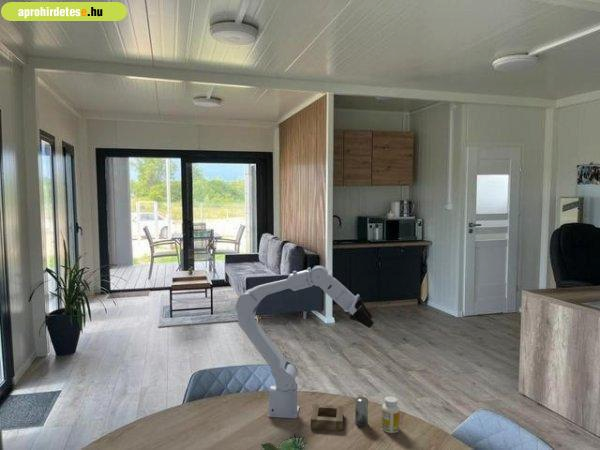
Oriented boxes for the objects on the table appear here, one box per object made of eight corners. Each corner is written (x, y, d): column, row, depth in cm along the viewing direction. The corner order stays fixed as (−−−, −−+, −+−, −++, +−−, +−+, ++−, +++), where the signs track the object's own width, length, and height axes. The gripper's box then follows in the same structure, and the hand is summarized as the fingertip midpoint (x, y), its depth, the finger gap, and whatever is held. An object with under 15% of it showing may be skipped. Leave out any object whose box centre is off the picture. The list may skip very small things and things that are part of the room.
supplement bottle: (397, 425, 137) (398, 395, 136) (400, 434, 132) (400, 403, 131) (380, 424, 138) (381, 394, 137) (382, 433, 132) (383, 402, 132)
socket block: (310, 428, 134) (310, 419, 134) (313, 412, 144) (313, 404, 144) (342, 430, 133) (342, 421, 133) (342, 414, 143) (343, 405, 143)
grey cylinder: (355, 426, 136) (355, 402, 135) (355, 420, 140) (355, 396, 139) (367, 427, 135) (368, 402, 135) (367, 420, 139) (367, 397, 139)
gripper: (347, 289, 132) (381, 319, 132) (348, 280, 147) (377, 307, 146) (332, 306, 133) (365, 335, 132) (334, 295, 147) (364, 322, 147)
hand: (371, 322), depth 139 cm, fingers open, 7 cm apart
